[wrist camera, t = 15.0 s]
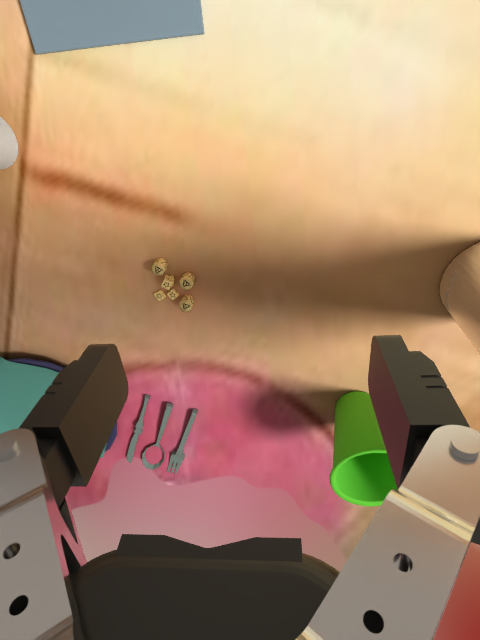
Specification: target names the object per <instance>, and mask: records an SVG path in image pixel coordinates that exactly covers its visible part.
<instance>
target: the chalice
mask: <svg viewBox="0 0 480 640" xmlns="http://www.w3.org/2000/svg"><path fill="white" fill-rule="evenodd" d="M17 155H18V143H17V140H16V137H15V134H14V132H13V131H12V129H11V127H10V126H9V124H8V123H7V122H6V121H5V120H4V119H3V118H2V117H0V169H6V168H8V167H10V166H12V165H13V163H14V162H15V161H16V159H17Z"/></svg>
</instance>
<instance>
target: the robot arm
mask: <svg viewBox="0 0 480 640" xmlns="http://www.w3.org/2000/svg"><path fill="white" fill-rule="evenodd" d="M440 297H441V300H442V302H443V304H444V306H445V308H446V309H447V310H448V312H449V313H450V314H451V316H452V317H453V318H454V320H455V321H456V322H457V324H458V325H459V327H460V328H461V329H462V331H463V332H464V333H465V335H466V336H467V338H468V339H469V340H470V342H471V343H472V344H473V346H474V347H475V348H476V350H477V351H478V352H479V354H480V242H479V243H477V244H474V245H472V246H470V247H469V248H467V249H466V250H464V251H462V252H461V253H460V254H459V255H458V256H457V257H455V258H454V259H453V261H452V262H451V263H450V264H449V265H448V267H447V268H446V270H445V272H444V274H443V276H442V279H441V282H440ZM368 386H369V394H370V398H371V401H372V405H373V408H374V411H375V415H376V418H377V421H378V425H379V428H380V432H381V435H382V438H383V442H384V445H385V448H386V452H387V455H388V458H389V462H390V465H391V468H392V472H393V475H394V479H395V482H396V485H397V489H398V490H396V489H392V490H391V491H390V492H389V494H388V495H387V497H386V498H385V500H384V501H383V503H382V505H381V506H380V508H379V510H378V511H377V513H376V514H375V516H374V518H373V519H372V521H371V523H370V524H369V526H368V528H367V529H366V531H365V532H364V534H363V536H362V537H361V539H360V541H359V542H358V544H357V546H356V547H355V549H354V551H353V552H352V554H351V555H350V557H349V559H348V560H347V562H346V564H345V565H344V567H343V569H342V570H341V572H339V571H337V570H336V569H335V568H333V567H332V566H330V565H328V564H327V563H325V562H323V561H321V560H319V559H317V558H314V557H312V556H309V555H306V554H303V553H302V547H301V546H302V545H301V538H259V537H255V538H251V539H247V540H242V541H239V542H235V543H230V544H226V545H222V546H218V547H214V548H203V547H200V546H197V545H194V544H190V543H187V542H184V541H181V540H178V539H175V538H172V537H168V536H165V535H133V534H122V536H121V539H120V542H119V545H118V548H117V550H114V551H111V552H108V553H105V554H103V555H101V556H99V557H96V558H94V559H92V560H91V561H89V562H87V560H86V557H85V555H84V552H83V548H82V545H81V542H80V538H79V535H78V531H77V528H76V524H75V521H74V518H73V515H72V511H71V507H70V504H69V501H68V499H67V497H66V494H67V492H68V490H69V488H70V486H87V484H88V482H89V480H90V478H91V476H92V474H93V471H94V469H95V467H96V465H97V463H98V461H99V458H100V456H101V454H102V452H103V450H104V448H105V445H106V443H107V441H108V439H109V437H110V435H111V432H112V430H113V428H114V426H115V424H116V422H117V419H118V417H119V415H120V413H121V411H122V409H123V406H124V404H125V402H126V400H127V396H128V381H127V378H126V374H125V371H124V368H123V365H122V361H121V358H120V355H119V352H118V349H117V347H116V346H115V345H114V344H94V345H89V346H88V347H87V348H86V350H85V351H84V352H83V354H82V355H81V357H80V358H79V360H74V361H73V362H71V363H70V364H69V365H68V366H66V367H65V368H64V369H62V370H61V371H60V372H59V374H58V375H57V376H56V378H55V379H54V380H53V382H52V385H50V386H49V387H48V389H47V390H46V391H45V395H42V397H41V398H40V400H39V401H38V402H37V404H36V405H35V406H34V408H33V409H32V410H31V412H30V413H29V415H28V416H27V417H26V419H25V420H24V421H23V423H22V424H21V425H20V427H19V428H18V429H13V430H9V431H6V432H3V433H1V434H0V640H433V638H434V635H435V633H436V630H437V628H438V625H439V622H440V620H441V617H442V615H443V612H444V609H445V607H446V604H447V601H448V599H449V597H450V594H451V591H452V589H453V586H454V584H455V581H456V579H457V576H458V573H459V571H460V568H461V566H462V563H463V560H464V558H465V555H466V553H467V550H468V548H469V545H470V543H471V542H473V543H476V544H479V545H480V432H479V431H476V430H474V429H472V428H470V426H469V425H468V423H467V421H466V419H465V417H464V416H463V414H462V412H461V410H460V408H459V407H458V405H457V403H456V401H455V399H454V398H453V396H452V394H451V392H450V390H449V389H448V388H447V385H446V383H445V381H444V380H443V378H442V377H441V374H440V373H439V371H438V369H437V367H436V365H435V364H434V362H433V361H432V360H430V359H429V358H428V357H427V356H425V355H424V354H423V353H422V352H420V351H412V352H409V351H408V349H407V347H406V345H405V343H404V341H403V339H402V337H401V336H400V335H383V336H373V338H372V344H371V354H370V364H369V374H368Z"/></svg>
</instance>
